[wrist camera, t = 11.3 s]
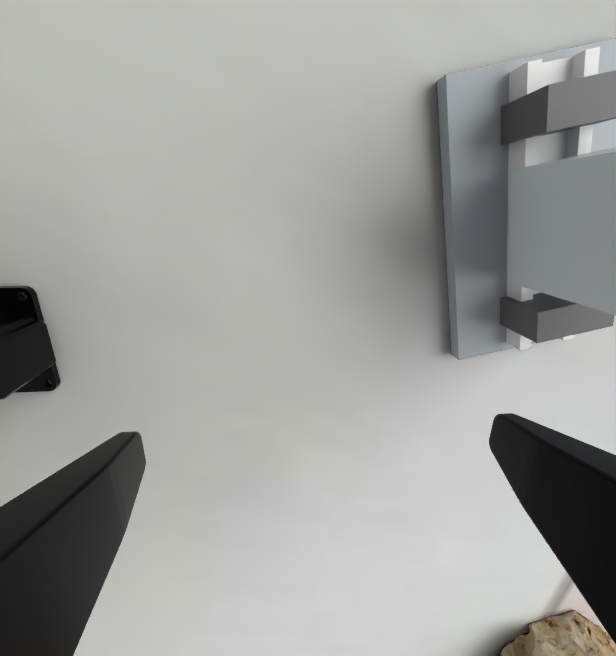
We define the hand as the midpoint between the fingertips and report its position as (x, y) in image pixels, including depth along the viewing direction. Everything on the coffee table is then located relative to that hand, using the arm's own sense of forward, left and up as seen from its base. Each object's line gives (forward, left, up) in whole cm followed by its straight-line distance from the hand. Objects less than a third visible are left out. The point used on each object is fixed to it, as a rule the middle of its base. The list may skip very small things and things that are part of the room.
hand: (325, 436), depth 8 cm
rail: (+14, +5, -13) cm, 20 cm away
